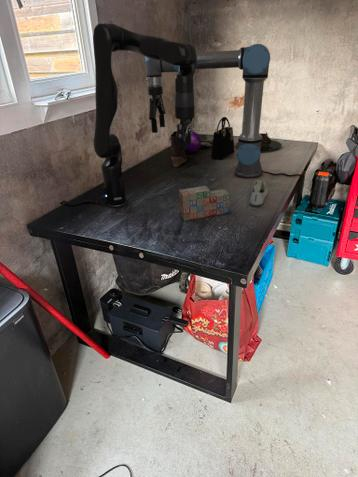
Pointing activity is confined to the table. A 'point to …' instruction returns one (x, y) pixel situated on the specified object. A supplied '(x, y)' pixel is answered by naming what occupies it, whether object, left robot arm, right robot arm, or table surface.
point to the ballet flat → (258, 193)
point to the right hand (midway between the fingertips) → (158, 129)
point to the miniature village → (267, 144)
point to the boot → (176, 151)
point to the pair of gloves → (207, 141)
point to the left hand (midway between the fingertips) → (185, 147)
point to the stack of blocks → (203, 202)
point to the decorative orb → (193, 143)
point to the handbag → (223, 141)
